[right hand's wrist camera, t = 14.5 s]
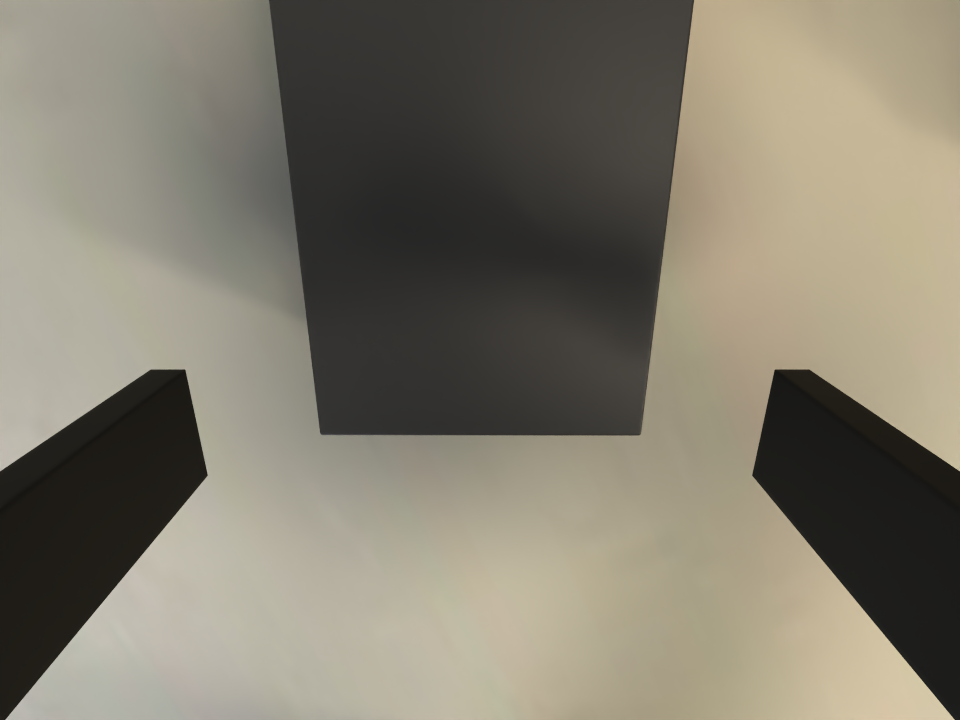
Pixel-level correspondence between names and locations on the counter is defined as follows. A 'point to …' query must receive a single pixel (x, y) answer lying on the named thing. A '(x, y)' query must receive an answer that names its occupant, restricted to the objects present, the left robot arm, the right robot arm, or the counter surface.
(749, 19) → the counter surface
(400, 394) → the cabinet
